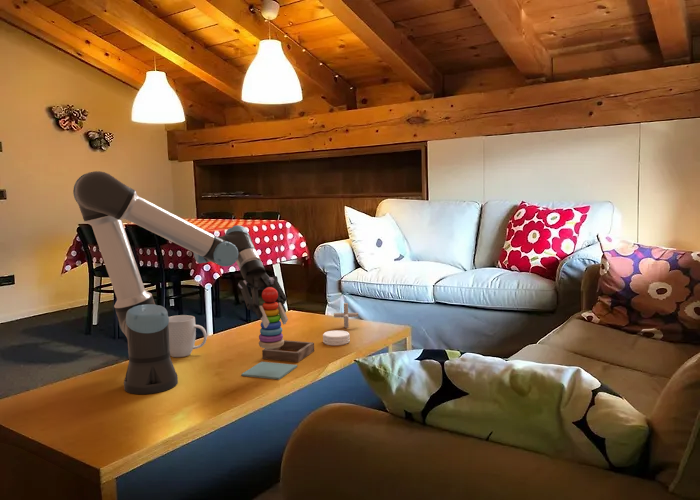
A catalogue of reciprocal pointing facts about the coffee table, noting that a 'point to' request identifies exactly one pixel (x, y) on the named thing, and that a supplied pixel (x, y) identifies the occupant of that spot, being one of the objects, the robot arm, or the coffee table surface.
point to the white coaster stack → (336, 337)
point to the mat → (269, 370)
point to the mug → (183, 335)
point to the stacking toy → (271, 321)
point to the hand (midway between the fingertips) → (276, 323)
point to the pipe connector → (346, 315)
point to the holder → (301, 353)
